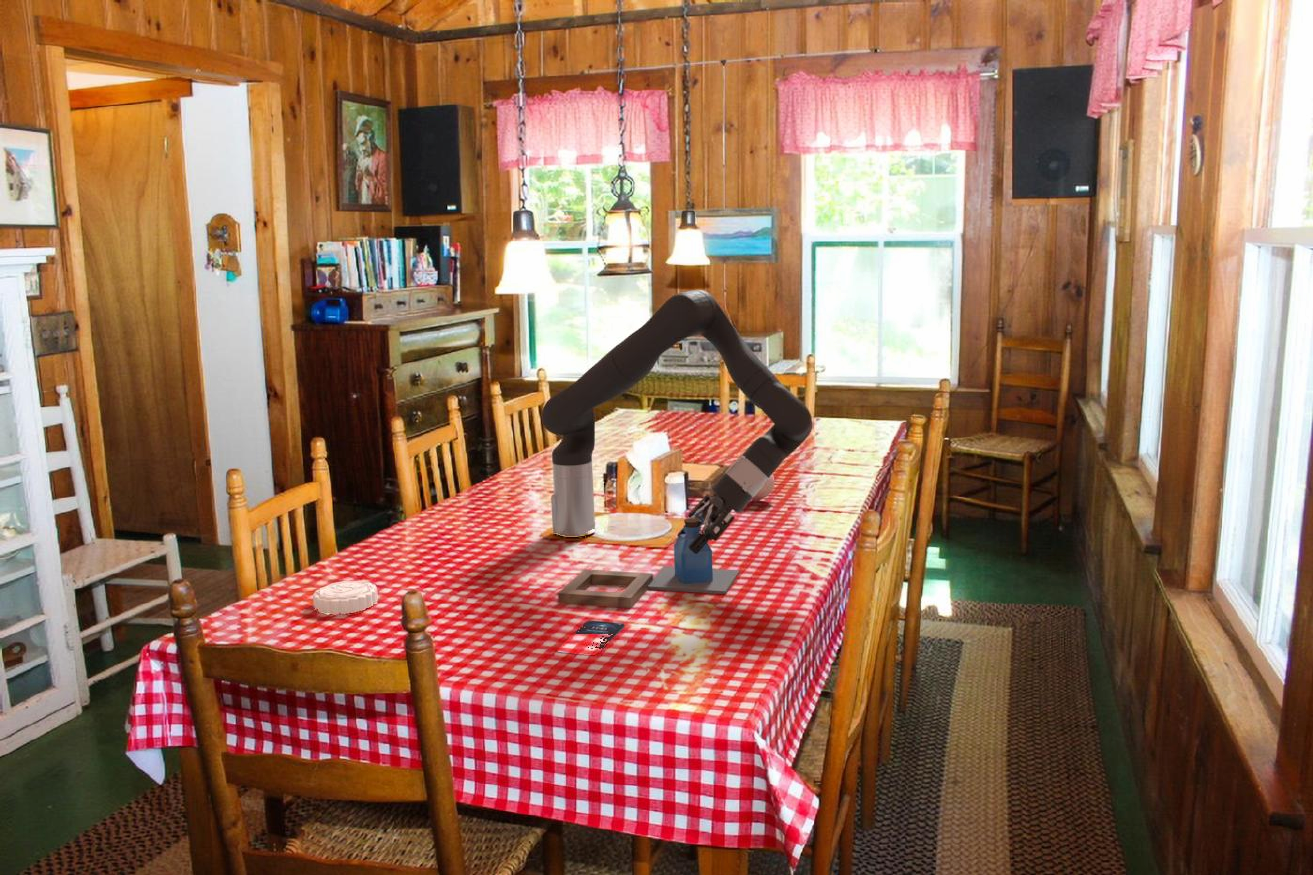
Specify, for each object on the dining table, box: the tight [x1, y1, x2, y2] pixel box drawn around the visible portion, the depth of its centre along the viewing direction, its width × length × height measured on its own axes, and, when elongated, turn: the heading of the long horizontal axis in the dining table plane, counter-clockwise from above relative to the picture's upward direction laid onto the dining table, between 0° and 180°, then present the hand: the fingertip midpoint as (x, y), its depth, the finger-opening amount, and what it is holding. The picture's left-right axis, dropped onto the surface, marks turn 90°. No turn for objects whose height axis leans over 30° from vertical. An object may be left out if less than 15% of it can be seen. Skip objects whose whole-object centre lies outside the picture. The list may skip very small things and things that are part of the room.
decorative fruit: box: [751, 474, 775, 503], centre depth 273 cm, size 9×8×10 cm
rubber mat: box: [648, 565, 740, 595], centre depth 214 cm, size 16×13×1 cm
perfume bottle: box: [673, 517, 714, 584], centre depth 213 cm, size 6×6×12 cm
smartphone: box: [573, 620, 626, 650], centre depth 186 cm, size 8×1×15 cm
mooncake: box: [312, 580, 379, 614], centre depth 207 cm, size 12×12×4 cm
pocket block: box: [557, 569, 654, 609], centre depth 209 cm, size 15×15×2 cm
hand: (686, 545), depth 212 cm, fingers open, 8 cm apart
